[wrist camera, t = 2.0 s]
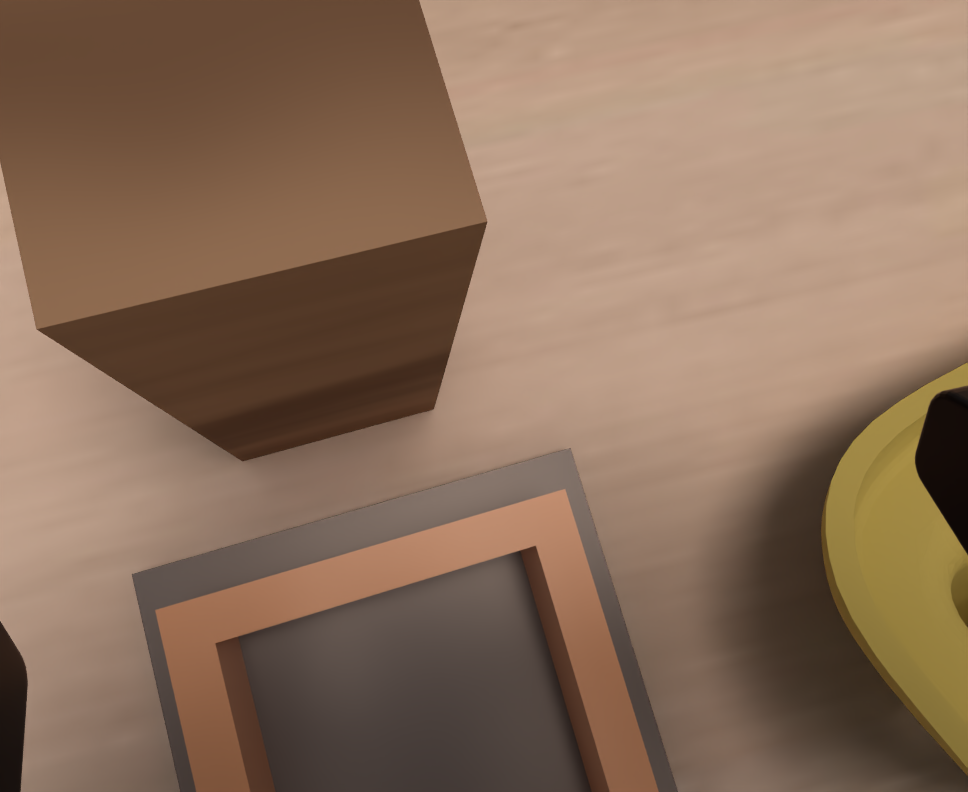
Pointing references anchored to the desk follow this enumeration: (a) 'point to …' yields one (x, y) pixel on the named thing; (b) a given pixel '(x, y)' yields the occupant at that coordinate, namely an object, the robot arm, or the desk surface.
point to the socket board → (408, 650)
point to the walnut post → (241, 206)
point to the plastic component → (902, 569)
